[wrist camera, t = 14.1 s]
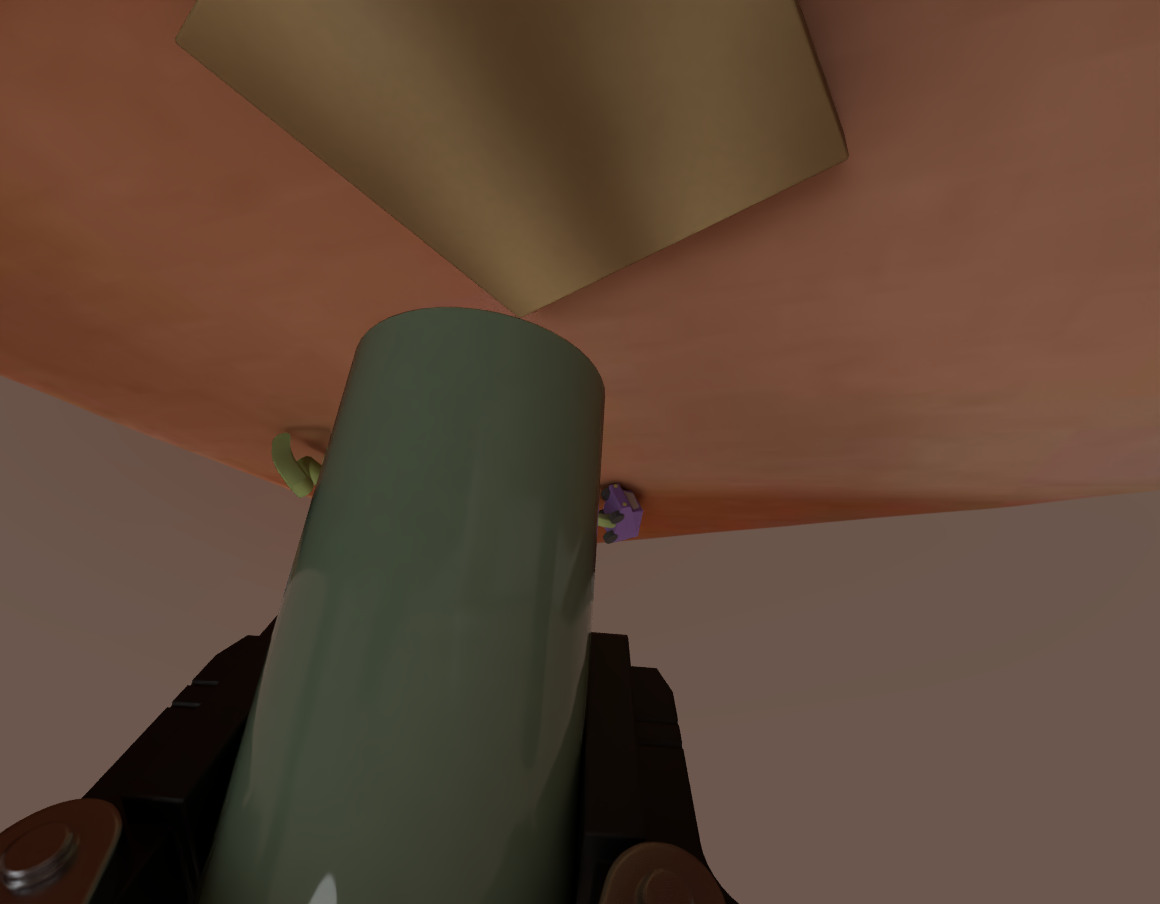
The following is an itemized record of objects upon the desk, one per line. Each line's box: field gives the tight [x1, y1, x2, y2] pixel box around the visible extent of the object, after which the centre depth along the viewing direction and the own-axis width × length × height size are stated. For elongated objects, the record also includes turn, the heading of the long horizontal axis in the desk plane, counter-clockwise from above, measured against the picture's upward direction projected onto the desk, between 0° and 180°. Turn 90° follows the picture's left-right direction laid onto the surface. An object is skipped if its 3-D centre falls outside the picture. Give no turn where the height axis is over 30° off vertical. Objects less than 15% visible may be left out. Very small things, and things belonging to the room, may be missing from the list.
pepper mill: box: [193, 307, 605, 904], centre depth 8 cm, size 4×4×10 cm
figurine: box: [272, 433, 643, 544], centre depth 38 cm, size 18×27×6 cm
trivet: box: [175, 0, 849, 318], centre depth 14 cm, size 12×12×1 cm
